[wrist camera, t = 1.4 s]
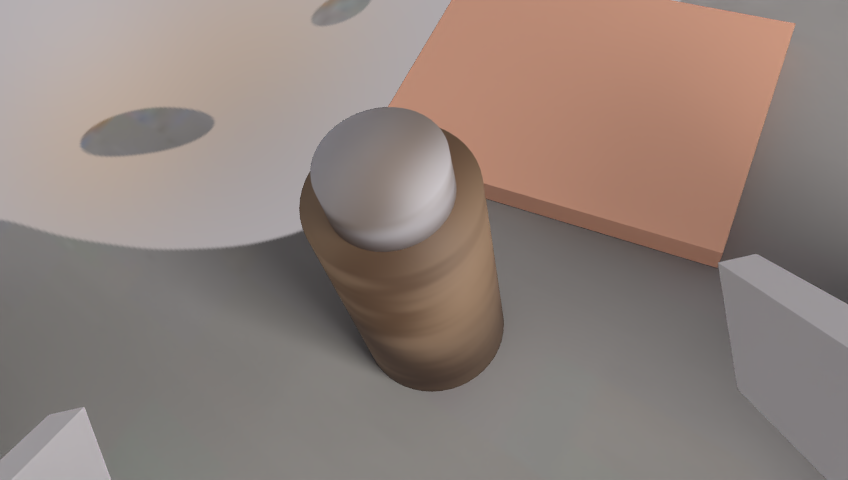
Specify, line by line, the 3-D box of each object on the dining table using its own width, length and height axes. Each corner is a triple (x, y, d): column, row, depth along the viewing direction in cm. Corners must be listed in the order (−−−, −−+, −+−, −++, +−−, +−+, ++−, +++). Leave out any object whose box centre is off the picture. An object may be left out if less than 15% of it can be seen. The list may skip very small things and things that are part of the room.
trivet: (368, 163, 44) (363, 148, 43) (475, -19, 51) (473, -37, 49) (717, 268, 37) (722, 253, 36) (788, 42, 44) (795, 23, 43)
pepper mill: (344, 361, 38) (246, 213, 26) (403, 248, 41) (340, 68, 29) (470, 412, 36) (426, 275, 24) (524, 289, 39) (509, 112, 27)
